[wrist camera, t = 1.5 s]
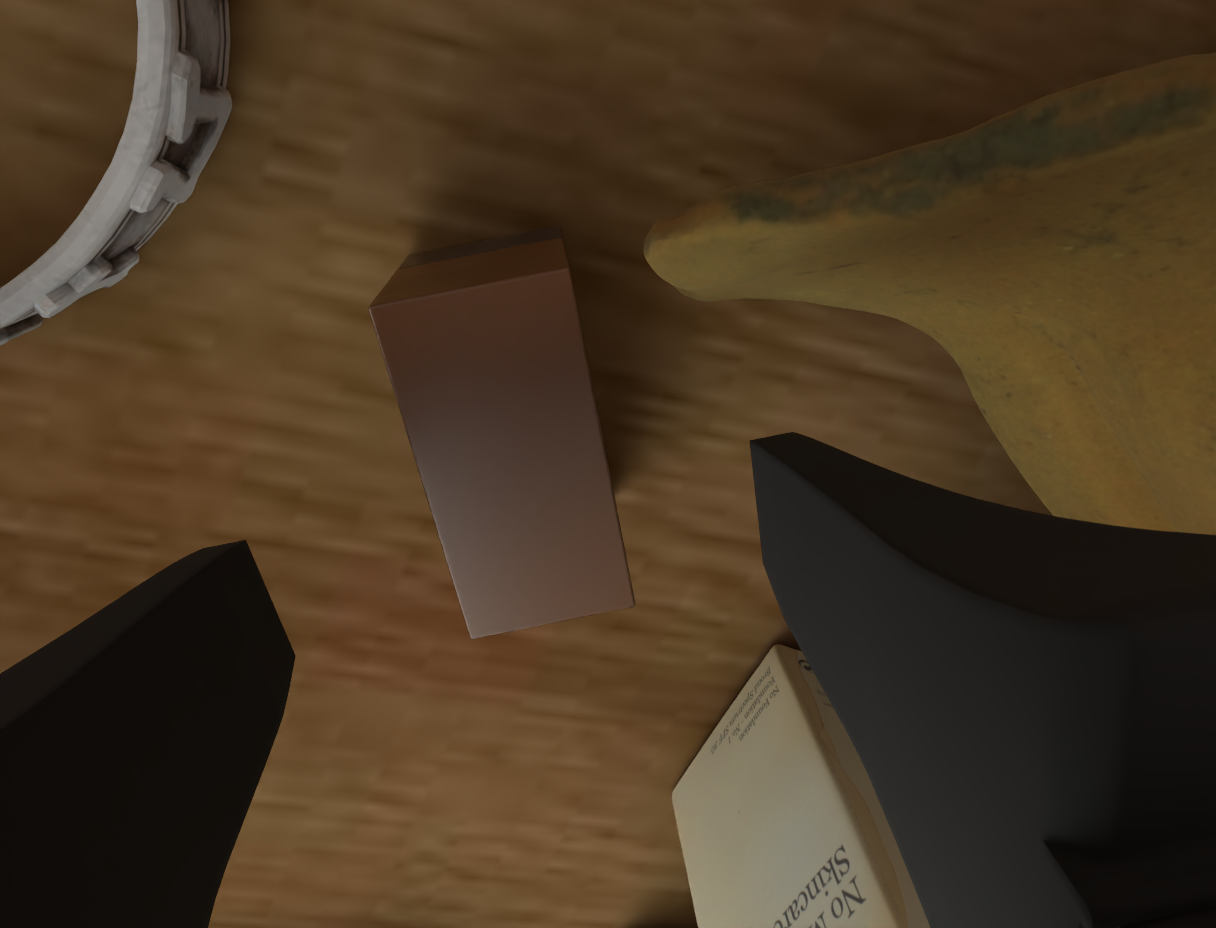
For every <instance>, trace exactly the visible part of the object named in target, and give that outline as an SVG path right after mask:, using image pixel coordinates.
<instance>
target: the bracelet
mask: <svg viewBox="0 0 1216 928" xmlns="http://www.w3.org/2000/svg"><path fill="white" fill-rule="evenodd" d="M136 3H137V14H138V48H137V66H136V74H135V82H134V90H133V98H132V102H131V106H130V110H129V114H128V118H127V121H126V125H125V129H124V133H123V135H122V138H121V140H120V143H119V145H118V148H117V150H116V152H115V155H114V157H113V160H112V162H111V164H110V166H109V168H108V170H107V171H106V173H105V175H104V176H103V178H102V180H101V182H100V183H99V185H98V187H97V189H96V190H95V192H94V193H93V195H92V196H91V198H90V199H89V201H88V202H87V204H86V205H85V207H84V208H83V210H82V211H81V213H80V214H79V216H78V217H77V218H76V220H75V221H74V222H73V223H72V224H71V226H70V227H69V228H68V229H67V230H66V232H65V233H64V234H63V235H62V236H61V238H60V239H59V240H58V241H57V242H56V243H55V244H54V245H53V246H52V247H51V248H50V249H49V250H48V251H46V252H45V253H44V254H43V255H42V256H41V257H40V258H39V259H38V260H37V261H36V262H34V263H33V264H32V265H31V266H29V267H28V268H27V269H25V270H24V271H23V272H22V273H20V274H19V275H18V276H16V277H15V278H14V279H12V280H11V281H10V282H8V283H7V284H5V285H4V286H2V287H1V288H0V346H1V345H3V344H5V343H7V342H8V341H9V340H11V339H13V338H15V337H18V336H20V335H22V334H24V333H27V332H29V331H31V330H33V329H36V328H38V327H40V326H41V325H42V322H43V320H42V318H41V316H42V317H44V318H50V317H52V316H54V315H56V314H58V313H60V312H61V311H63V310H64V309H66V308H67V307H68V306H70V305H71V304H72V303H74V302H75V301H76V300H78V299H79V298H81V297H83V296H85V295H87V294H89V293H91V292H93V291H95V290H97V289H99V288H102V287H106V288H109V287H111V286H112V285H114V284H116V283H117V282H119V281H121V280H122V279H123V278H124V277H125V276H126V275H127V274H128V270H129V269H131V268H132V267H133V266H134V265H135V264H137V263H138V262H139V253H138V252H137V250H138V249H139V248H140V247H142V246H143V245H144V244H145V243H146V242H147V241H148V240H149V239H150V238H151V237H152V236H153V235H154V233H155V232H156V231H157V230H158V229H159V228H160V226H161V225H162V224H163V223H164V222H165V221H166V220H167V218H168V217H169V216H170V214H171V213H172V211H173V210H174V209H175V207H176V206H177V204H178V203H183V202H185V201H186V200H187V199H188V198H189V197H190V196H191V194H192V193H193V191H194V188H195V185H196V183H197V180H198V177H199V175H200V174H201V172H202V170H203V168H204V167H205V165H206V163H207V161H208V160H209V158H210V156H211V154H212V153H213V151H214V149H215V147H216V145H217V143H218V141H219V139H220V136H221V134H222V132H223V129H224V127H225V125H226V122H227V120H228V118H229V116H230V113H231V109H232V100H231V95H230V93H229V91H228V90H227V89H226V85H227V79H228V69H229V54H230V24H229V5H228V0H136ZM40 315H41V316H40Z"/></svg>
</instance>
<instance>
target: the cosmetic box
mask: <svg viewBox="0 0 1216 928" xmlns="http://www.w3.org/2000/svg"><path fill="white" fill-rule="evenodd" d="M672 803H673V807H674V812H675V817H676V822H677V827H678V832H679V837H680V842H681V846H682V851H683V856H684V861H685V866H686V870H687V876H688V881H689V886H690V891H691V895H692V899H693V904H694V909H695V915H696V920H697V924H698V928H930V926H929V923H928V920H927V918H926V915H925V913H924V910H923V908H922V905H921V903H920V900H919V898H918V895H917V893H916V890H915V888H914V885H913V883H912V880H911V878H910V875H909V873H908V870H907V868H906V865H905V863H904V860H903V858H902V855H901V853H900V850H899V848H898V845H897V843H896V840H895V838H894V836H893V833H892V831H891V828H890V826H889V824H888V821H887V819H886V817H885V814H884V812H883V809H882V807H881V805H880V802H879V800H878V797H877V795H876V793H875V790H874V788H873V786H872V783H871V781H870V778H869V776H868V774H867V771H866V769H865V767H864V765H863V763H862V761H861V759H860V757H859V755H858V753H857V751H856V749H855V747H854V745H853V743H852V741H851V739H850V737H849V735H848V733H847V732H846V730H845V728H844V726H843V724H842V723H841V721H840V719H839V717H838V715H837V714H836V712H835V710H834V708H833V706H832V705H831V703H830V701H829V699H828V697H827V696H826V694H825V692H824V690H823V688H822V687H821V685H820V683H819V681H818V680H817V678H816V676H815V674H814V672H813V671H812V669H811V667H810V665H809V663H808V662H807V660H806V658H805V656H804V654H803V652H802V651H799V650H796V649H793V648H790V647H786V646H784V645H780V644H778V645H775V646H773V647H772V648H771V650H770V651H769V652H768V654H767V655H766V657H765V658H764V659H763V661H762V662H761V664H760V665H759V667H758V668H757V669H756V671H755V672H754V674H753V675H752V676H751V678H750V679H749V680H748V682H747V683H746V685H745V686H744V688H743V689H742V690H741V692H740V693H739V695H738V696H737V698H736V699H735V700H734V702H733V703H732V705H731V706H730V708H729V709H728V710H727V712H726V713H725V715H724V716H723V718H722V719H721V721H720V722H719V723H718V725H717V726H716V728H715V729H714V731H713V732H712V734H711V735H710V736H709V738H708V739H707V741H706V742H705V744H704V745H703V747H702V748H701V750H700V751H699V753H698V754H697V756H696V757H695V759H694V760H693V762H692V763H691V765H690V766H689V768H688V769H687V771H686V772H685V774H684V775H683V776H682V778H681V779H680V781H679V782H678V784H677V785H676V787H675V788H674V790H673V792H672Z"/></svg>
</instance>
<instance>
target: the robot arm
mask: <svg viewBox="0 0 1216 928" xmlns="http://www.w3.org/2000/svg"><path fill="white" fill-rule="evenodd" d="M750 448H751V457H752V466H753V475H754V484H755V494H756V503H757V512H758V521H759V530H760V539H761V548H762V557H763V564H764V567H765V570H766V572H767V575H768V578H769V580H770V583H771V586H772V589H773V591H774V594H775V596H776V599H777V602H778V604H779V607H780V609H781V612H782V614H783V617H784V619H785V621H786V623H787V625H788V627H789V629H790V630H791V632H792V634H793V636H794V638H795V640H796V641H797V643H798V645H799V647H800V649H801V651H802V652H803V654H804V656H805V658H806V660H807V662H808V663H809V665H810V667H811V669H812V671H813V672H814V674H815V676H816V678H817V680H818V681H819V683H820V685H821V687H822V688H823V690H824V692H825V694H826V696H827V697H828V699H829V701H830V703H831V705H832V706H833V708H834V710H835V712H836V714H837V715H838V717H839V719H840V721H841V723H842V724H843V726H844V728H845V730H846V732H847V733H848V735H849V737H850V739H851V741H852V743H853V745H854V747H855V749H856V751H857V753H858V755H859V757H860V759H861V761H862V763H863V765H864V767H865V769H866V771H867V774H868V776H869V778H870V781H871V783H872V786H873V788H874V790H875V793H876V795H877V797H878V800H879V802H880V805H881V807H882V809H883V812H884V814H885V817H886V819H887V821H888V824H889V826H890V828H891V831H892V833H893V836H894V838H895V840H896V843H897V845H898V848H899V850H900V853H901V855H902V858H903V860H904V863H905V865H906V868H907V870H908V873H909V875H910V878H911V880H912V883H913V885H914V888H915V890H916V893H917V895H918V898H919V900H920V903H921V905H922V908H923V910H924V913H925V915H926V918H927V920H928V923H929V926H930V928H1216V535H1209V534H1196V533H1183V532H1170V531H1158V530H1149V529H1140V528H1131V527H1122V526H1114V525H1107V524H1101V523H1095V522H1088V521H1082V520H1075V519H1069V518H1062V517H1056V516H1051V515H1046V514H1040V513H1035V512H1030V511H1025V510H1021V509H1017V508H1013V507H1009V506H1004V505H1000V504H996V503H992V502H988V501H984V500H979V499H976V498H972V497H968V496H965V495H961V494H958V493H955V492H951V491H948V490H945V489H942V488H939V487H936V486H933V485H930V484H927V483H924V482H921V481H918V480H915V479H912V478H909V477H907V476H904V475H901V474H898V473H896V472H893V471H890V470H888V469H885V468H883V467H880V466H878V465H875V464H873V463H870V462H868V461H865V460H863V459H860V458H858V457H856V456H853V455H851V454H848V453H846V452H844V451H841V450H839V449H837V448H834V447H832V446H829V445H827V444H825V443H822V442H820V441H817V440H815V439H812V438H810V437H807V436H804V435H801V434H798V433H794V432H790V433H785V434H780V435H775V436H770V437H765V438H760V439H755V440H750ZM294 661H295V654H294V651H293V649H292V647H291V644H290V642H289V640H288V637H287V635H286V633H285V630H284V628H283V626H282V623H281V621H280V619H279V616H278V614H277V612H276V609H275V607H274V605H273V602H272V600H271V598H270V595H269V593H268V591H267V588H266V586H265V584H264V581H263V579H262V577H261V574H260V572H259V570H258V567H257V565H256V563H255V560H254V558H253V556H252V553H251V551H250V549H249V546H248V544H247V542H246V540H243V541H238V542H233V543H228V544H223V545H218V546H213V547H207V548H203V549H201V550H198V551H196V552H194V553H192V554H190V555H188V556H186V557H184V558H182V559H180V560H179V561H177V562H175V563H173V564H172V565H170V566H168V567H167V568H165V569H163V570H162V571H160V572H158V573H157V574H155V575H154V576H152V577H150V578H149V579H147V580H146V581H144V582H143V583H141V584H140V585H138V586H137V587H135V588H133V589H132V590H130V591H129V592H127V593H126V594H124V595H123V596H121V597H120V598H118V599H117V600H115V601H114V602H112V603H111V604H109V605H108V606H106V607H105V608H103V609H102V610H100V611H98V612H97V613H95V614H94V615H92V616H91V617H89V618H88V619H86V620H85V621H83V622H82V623H80V624H79V625H77V626H76V627H74V628H73V629H71V630H70V631H68V632H66V633H65V634H63V635H62V636H60V637H58V638H57V639H55V640H54V641H52V642H50V643H49V644H47V645H46V646H44V647H42V648H41V649H39V650H38V651H36V652H34V653H33V654H31V655H30V656H28V657H26V658H25V659H23V660H22V661H20V662H18V663H17V664H15V665H14V666H12V667H10V668H9V669H7V670H6V671H4V672H2V673H1V674H0V928H208V925H209V921H210V917H211V913H212V910H213V906H214V902H215V899H216V896H217V893H218V890H219V887H220V884H221V881H222V878H223V875H224V872H225V869H226V866H227V863H228V860H229V858H230V855H231V853H232V850H233V847H234V845H235V842H236V840H237V837H238V834H239V832H240V829H241V827H242V824H243V821H244V819H245V816H246V814H247V811H248V808H249V806H250V803H251V801H252V798H253V796H254V793H255V790H256V788H257V785H258V783H259V780H260V777H261V775H262V772H263V770H264V767H265V764H266V762H267V759H268V756H269V754H270V751H271V748H272V745H273V743H274V740H275V737H276V735H277V732H278V729H279V726H280V723H281V721H282V718H283V714H284V709H285V705H286V701H287V696H288V692H289V687H290V682H291V677H292V671H293V666H294Z"/></svg>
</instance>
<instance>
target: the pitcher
mask: <svg viewBox="0 0 1216 928" xmlns="http://www.w3.org/2000/svg"><path fill="white" fill-rule="evenodd" d="M644 256H645V258H646V260H647V262H648V263H649V265H650V266H651V268H652V269H653V270H654V271H655V272H656V274H657V275H658V276H660V277H661V278H662V279H663V280H665V281H666V282H668V283H670V284H671V285H673V286H674V287H675V288H676V289H677V290H678V291H679V292H680V293H681V294H683V295H685V296H687V297H689V298H692V299H694V300H698V301H704V302H713V301H724V300H732V299H780V300H790V301H802V302H810V303H815V304H820V305H826V306H833V307H839V308H845V309H852V310H859V311H866V312H871V313H876V314H880V315H885V316H889V317H892V318H895V319H898V320H900V321H903V322H905V323H907V324H909V325H911V326H913V327H915V328H917V329H919V330H921V331H922V332H924V333H926V334H927V335H929V336H930V337H932V338H933V339H934V340H936V341H937V342H938V343H939V344H940V345H942V346H943V347H944V348H945V349H946V351H947V352H948V353H949V354H950V355H951V357H952V358H953V359H954V361H955V362H956V363H957V365H958V366H959V368H960V370H961V372H962V374H963V376H964V378H965V380H966V382H967V385H968V387H969V389H970V391H971V393H972V395H973V397H974V399H975V401H976V403H977V405H978V407H979V409H980V410H981V412H982V414H983V416H984V417H985V419H986V421H987V422H988V424H989V426H990V427H991V429H992V431H993V433H994V434H995V436H996V437H997V439H998V440H999V442H1000V443H1001V445H1002V446H1003V448H1004V449H1005V451H1006V452H1007V454H1008V456H1009V457H1010V458H1011V460H1012V461H1013V463H1014V464H1015V466H1016V467H1017V469H1018V470H1019V471H1020V473H1021V474H1022V476H1023V477H1024V479H1025V480H1026V481H1027V483H1028V484H1029V485H1030V487H1031V488H1032V489H1033V491H1034V492H1035V493H1036V494H1037V496H1038V497H1039V498H1040V500H1041V501H1042V502H1043V504H1044V505H1045V506H1046V507H1047V509H1048V510H1049V511H1050V512H1051V514H1052V515H1053V516H1056V517H1062V518H1069V519H1075V520H1082V521H1088V522H1095V523H1101V524H1107V525H1114V526H1122V527H1131V528H1140V529H1149V530H1158V531H1170V532H1183V533H1196V534H1209V535H1216V53H1206V54H1193V55H1187V56H1181V57H1176V58H1172V59H1168V60H1164V61H1160V62H1157V63H1153V64H1149V65H1145V66H1142V67H1138V68H1134V69H1131V70H1127V71H1123V72H1119V73H1116V74H1112V75H1109V76H1105V77H1101V78H1098V79H1094V80H1091V81H1088V82H1084V83H1081V84H1078V85H1075V86H1072V87H1070V88H1067V89H1064V90H1061V91H1058V92H1055V93H1052V94H1049V95H1047V96H1044V97H1041V98H1039V99H1037V100H1034V101H1032V102H1030V103H1028V104H1025V105H1023V106H1021V107H1019V108H1016V109H1014V110H1012V111H1009V112H1006V113H1003V114H1001V115H999V116H996V117H994V118H992V119H991V120H989V121H987V122H985V123H982V124H980V125H978V126H976V127H973V128H971V129H968V130H966V131H963V132H960V133H957V134H954V135H951V136H947V137H944V138H940V139H936V140H931V141H927V142H923V143H920V144H916V145H913V146H909V147H906V148H903V149H899V150H895V151H892V152H889V153H885V154H882V155H879V156H876V157H873V158H869V159H865V160H861V161H856V162H852V163H847V164H843V165H839V166H834V167H830V168H825V169H821V170H817V171H812V172H808V173H804V174H799V175H794V176H791V177H788V178H784V179H779V180H769V181H758V182H752V183H747V184H742V185H737V186H733V187H729V188H726V189H724V190H721V191H719V192H717V193H716V194H714V195H712V196H711V197H709V198H708V199H706V200H704V201H703V202H701V203H698V204H695V205H693V206H689V207H686V208H683V209H681V210H679V211H677V212H675V213H673V214H671V215H669V216H666V217H664V218H662V219H660V220H659V221H657V222H656V223H655V224H654V225H653V226H652V228H651V230H650V231H649V233H648V235H647V236H646V239H645V243H644Z"/></svg>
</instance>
